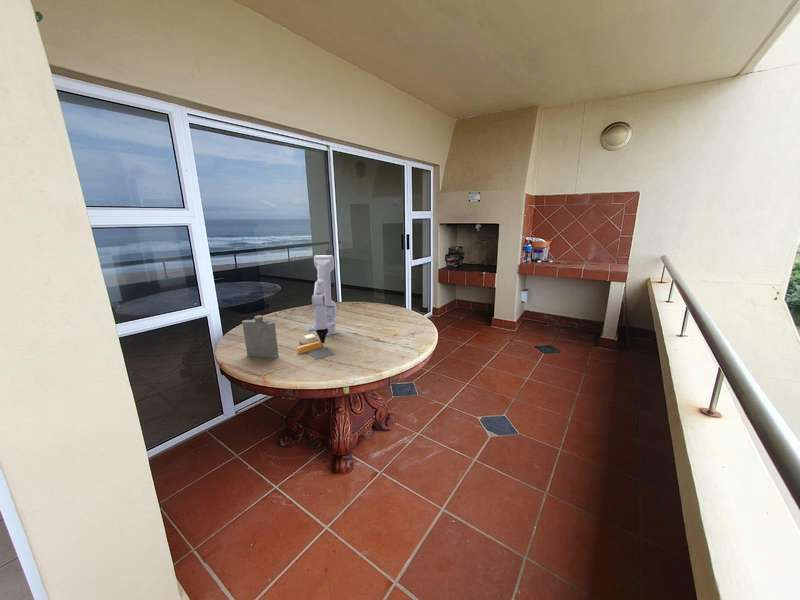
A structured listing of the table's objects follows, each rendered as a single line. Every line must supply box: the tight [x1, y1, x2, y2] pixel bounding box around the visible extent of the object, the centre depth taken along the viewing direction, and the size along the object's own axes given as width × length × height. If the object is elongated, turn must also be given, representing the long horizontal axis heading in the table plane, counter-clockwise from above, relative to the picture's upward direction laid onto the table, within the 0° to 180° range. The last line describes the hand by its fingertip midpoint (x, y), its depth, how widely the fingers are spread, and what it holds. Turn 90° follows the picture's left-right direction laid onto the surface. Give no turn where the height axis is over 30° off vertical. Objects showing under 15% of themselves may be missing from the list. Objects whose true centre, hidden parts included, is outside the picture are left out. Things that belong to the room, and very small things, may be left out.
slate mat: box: [307, 346, 336, 361], centre depth 156 cm, size 10×10×1 cm
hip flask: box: [241, 314, 279, 359], centre depth 151 cm, size 16×4×20 cm, turn 80°
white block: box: [303, 333, 317, 344], centre depth 165 cm, size 4×4×5 cm
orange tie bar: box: [296, 340, 323, 355], centre depth 159 cm, size 2×12×3 cm, turn 127°
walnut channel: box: [298, 337, 320, 346], centre depth 166 cm, size 10×8×2 cm
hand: (322, 342), depth 163 cm, fingers closed
